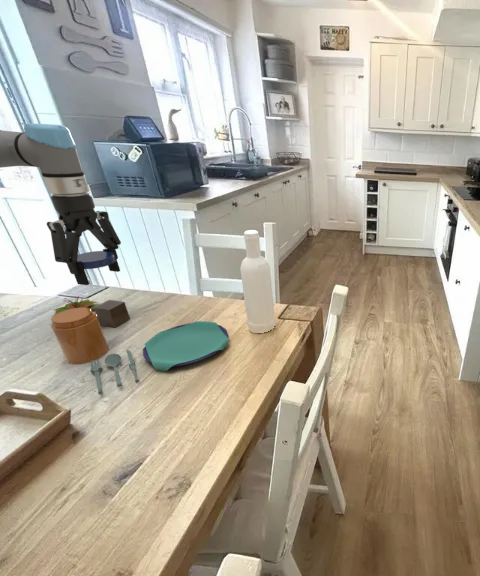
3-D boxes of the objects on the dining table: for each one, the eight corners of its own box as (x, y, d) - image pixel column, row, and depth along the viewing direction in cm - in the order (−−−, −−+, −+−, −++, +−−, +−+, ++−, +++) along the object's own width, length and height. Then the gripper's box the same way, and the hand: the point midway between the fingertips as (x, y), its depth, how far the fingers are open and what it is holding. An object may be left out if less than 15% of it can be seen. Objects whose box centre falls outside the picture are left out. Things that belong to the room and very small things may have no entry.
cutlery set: (240, 351, 88) (239, 344, 86) (97, 404, 69) (93, 396, 68) (215, 320, 100) (214, 314, 99) (89, 357, 81) (86, 350, 80)
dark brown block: (100, 325, 94) (93, 307, 91) (115, 317, 98) (109, 299, 96) (115, 327, 94) (109, 309, 91) (130, 319, 98) (124, 301, 95)
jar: (56, 361, 80) (37, 321, 74) (89, 342, 87) (74, 304, 82) (86, 366, 79) (69, 326, 74) (117, 346, 86) (103, 308, 81)
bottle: (268, 317, 104) (258, 226, 91) (280, 327, 99) (272, 233, 86) (243, 325, 99) (229, 230, 86) (255, 337, 94) (242, 237, 81)
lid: (123, 259, 91) (121, 252, 90) (94, 271, 83) (91, 263, 82) (96, 255, 92) (93, 249, 91) (64, 267, 84) (61, 259, 83)
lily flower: (109, 309, 102) (105, 296, 100) (59, 325, 93) (53, 311, 91) (93, 297, 108) (88, 285, 106) (44, 312, 98) (38, 298, 96)
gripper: (36, 203, 70) (73, 295, 80) (122, 188, 89) (143, 264, 99) (6, 200, 71) (46, 292, 80) (97, 186, 90) (121, 262, 100)
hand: (100, 277), depth 90 cm, fingers closed on lid, 9 cm apart
